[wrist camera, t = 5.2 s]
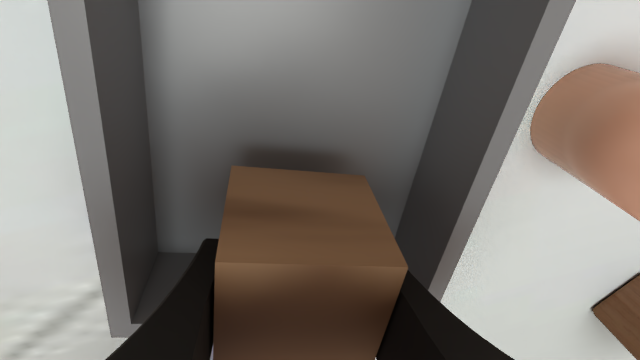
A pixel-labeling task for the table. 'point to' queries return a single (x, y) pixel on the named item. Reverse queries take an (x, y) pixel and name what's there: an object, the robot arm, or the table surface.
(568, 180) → the table surface
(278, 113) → the tote
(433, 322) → the robot arm
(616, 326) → the wooden block
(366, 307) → the walnut block
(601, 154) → the terracotta cylinder
